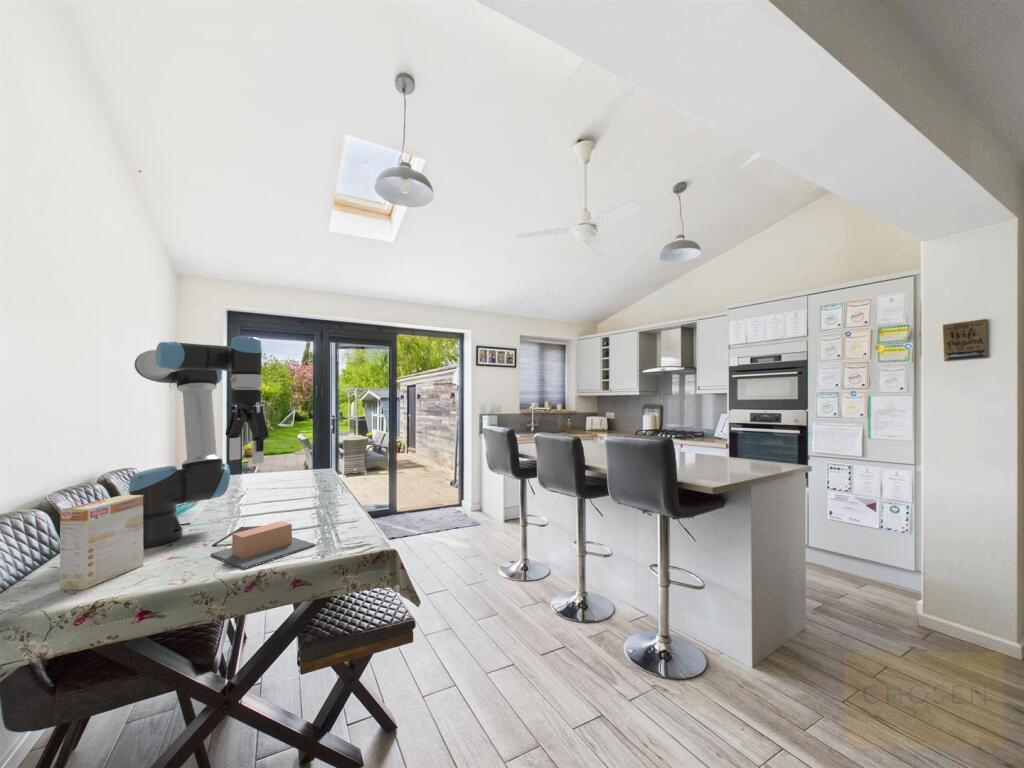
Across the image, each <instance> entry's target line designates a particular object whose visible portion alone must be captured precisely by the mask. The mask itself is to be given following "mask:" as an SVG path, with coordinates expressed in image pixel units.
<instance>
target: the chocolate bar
mask: <svg viewBox="0 0 1024 768" xmlns="http://www.w3.org/2000/svg"><path fill="white" fill-rule="evenodd" d="M261 526H262V525H256V526H241V527H238V528H237V529H235V530H233V531H232V532H231V533H229V534H228V535H225V536H224V537H222V538H221V539H220V540H217V541H216V542H214V543H213V544H212V545H211V547H212V546H214V547H224V546H225V547H226V545H228V546H232V534H234V533H238V532H242V531H246V530H249V529H253V528H257V527H261Z"/></svg>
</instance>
